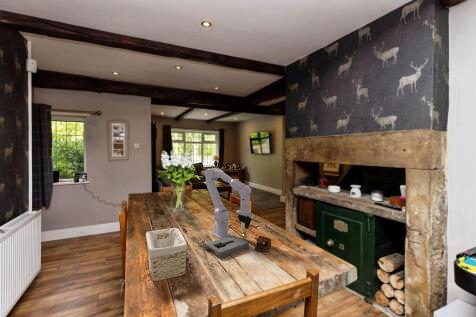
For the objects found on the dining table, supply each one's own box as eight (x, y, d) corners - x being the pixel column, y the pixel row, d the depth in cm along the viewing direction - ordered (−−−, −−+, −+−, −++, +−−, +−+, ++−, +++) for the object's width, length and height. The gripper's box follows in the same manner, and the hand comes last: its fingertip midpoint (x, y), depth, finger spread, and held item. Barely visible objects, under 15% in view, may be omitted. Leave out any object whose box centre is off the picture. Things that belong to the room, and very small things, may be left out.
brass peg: (239, 235, 145) (239, 221, 145) (245, 234, 148) (245, 220, 148) (244, 238, 142) (244, 223, 142) (249, 236, 145) (249, 222, 144)
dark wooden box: (250, 248, 134) (254, 234, 137) (263, 253, 138) (267, 239, 141) (262, 251, 124) (266, 235, 127) (276, 256, 127) (279, 241, 130)
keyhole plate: (219, 259, 121) (219, 252, 121) (204, 249, 132) (204, 243, 131) (248, 248, 134) (248, 242, 133) (233, 240, 144) (233, 235, 144)
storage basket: (188, 276, 105) (188, 243, 104) (149, 285, 98) (148, 250, 97) (178, 254, 127) (178, 226, 126) (145, 259, 120) (145, 231, 119)
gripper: (258, 206, 141) (257, 229, 142) (242, 202, 152) (242, 223, 153) (249, 208, 137) (249, 232, 137) (233, 203, 148) (233, 225, 148)
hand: (244, 227), depth 145 cm, fingers closed on brass peg, 3 cm apart
